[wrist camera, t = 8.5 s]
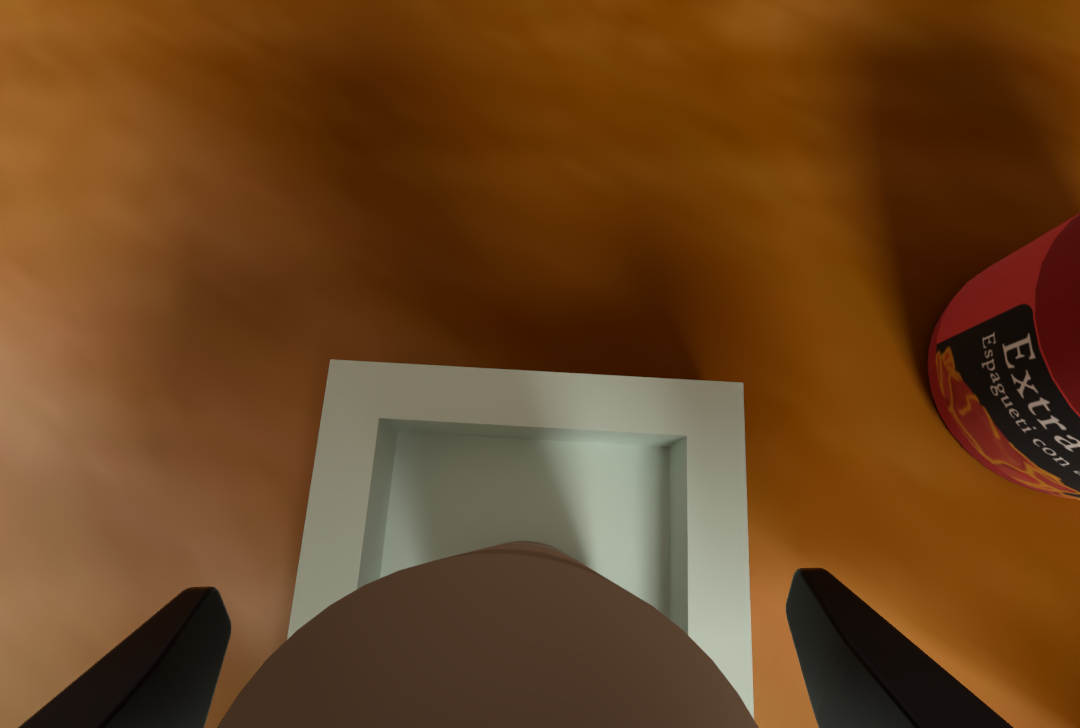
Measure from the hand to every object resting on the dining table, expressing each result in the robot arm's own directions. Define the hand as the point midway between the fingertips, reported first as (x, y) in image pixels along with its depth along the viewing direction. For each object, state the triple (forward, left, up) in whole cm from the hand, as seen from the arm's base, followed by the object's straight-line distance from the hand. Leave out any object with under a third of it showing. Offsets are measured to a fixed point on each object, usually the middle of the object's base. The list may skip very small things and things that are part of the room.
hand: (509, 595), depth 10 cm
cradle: (-1, 0, -9) cm, 9 cm away
